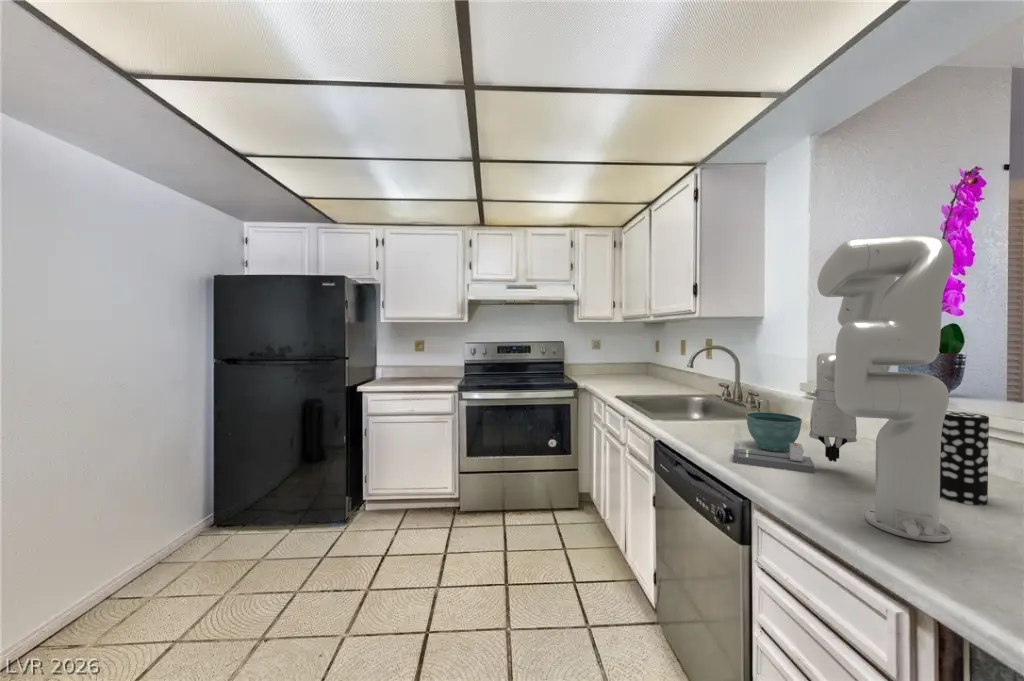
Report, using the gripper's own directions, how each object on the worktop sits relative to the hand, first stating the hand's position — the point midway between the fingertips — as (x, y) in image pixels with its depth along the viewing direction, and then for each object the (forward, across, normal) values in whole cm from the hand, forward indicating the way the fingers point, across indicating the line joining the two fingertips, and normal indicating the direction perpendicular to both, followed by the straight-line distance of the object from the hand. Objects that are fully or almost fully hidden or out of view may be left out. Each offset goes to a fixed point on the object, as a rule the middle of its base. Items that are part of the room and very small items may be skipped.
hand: (832, 460), depth 118 cm
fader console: (+3, -15, 0) cm, 15 cm away
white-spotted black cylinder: (+3, +23, -9) cm, 25 cm away
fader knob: (+1, -9, 0) cm, 9 cm away
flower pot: (+3, -14, +19) cm, 24 cm away
